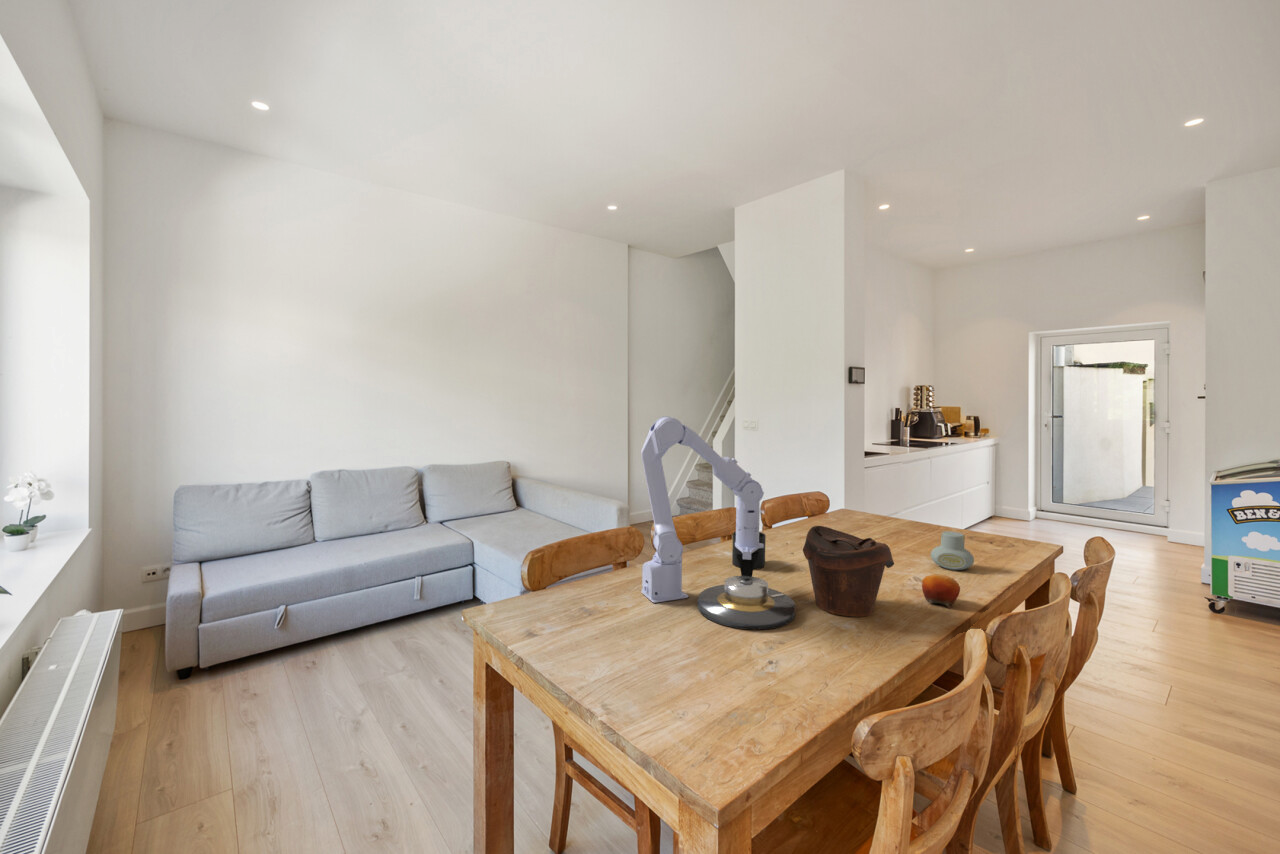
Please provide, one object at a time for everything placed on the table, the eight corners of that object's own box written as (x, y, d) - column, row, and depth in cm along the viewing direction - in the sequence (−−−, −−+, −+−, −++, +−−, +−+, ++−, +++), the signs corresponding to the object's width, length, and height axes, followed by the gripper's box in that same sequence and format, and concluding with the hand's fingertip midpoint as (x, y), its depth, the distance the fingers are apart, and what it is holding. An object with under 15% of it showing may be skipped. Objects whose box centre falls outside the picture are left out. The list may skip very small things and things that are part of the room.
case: (902, 626, 116) (903, 543, 115) (805, 618, 120) (806, 539, 119) (882, 597, 134) (883, 525, 133) (798, 591, 138) (799, 522, 137)
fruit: (921, 601, 127) (922, 568, 130) (921, 608, 133) (922, 576, 136) (961, 608, 123) (961, 573, 126) (958, 615, 129) (959, 581, 132)
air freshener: (973, 566, 158) (975, 533, 157) (973, 574, 151) (974, 539, 150) (931, 560, 164) (932, 528, 163) (929, 567, 157) (930, 533, 156)
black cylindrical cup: (776, 563, 160) (776, 533, 160) (752, 571, 152) (753, 540, 151) (749, 556, 167) (750, 527, 167) (725, 564, 159) (726, 533, 158)
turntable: (730, 636, 110) (730, 626, 110) (681, 598, 131) (681, 590, 131) (816, 620, 119) (816, 610, 119) (758, 587, 139) (758, 579, 139)
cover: (739, 608, 120) (739, 590, 120) (716, 593, 129) (716, 576, 129) (776, 602, 124) (777, 584, 123) (751, 587, 133) (752, 571, 133)
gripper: (764, 534, 127) (763, 591, 127) (763, 520, 141) (762, 571, 142) (734, 532, 128) (733, 588, 129) (736, 519, 142) (735, 569, 143)
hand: (746, 579), depth 135 cm, fingers closed
